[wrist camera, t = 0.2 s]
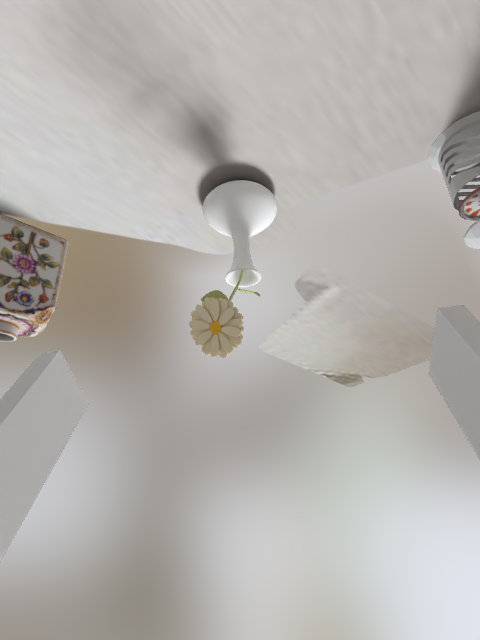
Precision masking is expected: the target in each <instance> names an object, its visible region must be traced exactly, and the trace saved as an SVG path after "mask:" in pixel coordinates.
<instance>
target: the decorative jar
mask: <svg viewBox="0 0 480 640" xmlns="http://www.w3.org/2000/svg"><path fill="white" fill-rule="evenodd" d="M67 248H68V241H67V240H65V239H63V238H60V237H57V236H55V235H53V234H50V233H48V232H45V231H43V230H40V229H38V228H36V227H33V226H31V225H28V224H25V223H23V222H20V221H18V220H15V219H13V218H10V217H8V216H5V215H3V214H0V341H4V342H9V341H15V340H16V339H17V337H31V336H36V335H37V334H39V333H40V332H42V331H43V330H44V328H45V327H46V325H47V324H48V321H49V319H50V318H51V316H52V314H53V312H54V310H55V309H56V303H57V297H58V293H59V289H60V284H61V280H62V274H63V270H64V265H65V259H66V254H67Z"/></svg>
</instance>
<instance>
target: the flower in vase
mask: <svg viewBox="0 0 480 640" xmlns="http://www.w3.org/2000/svg"><path fill="white" fill-rule="evenodd" d="M276 212H277V200H276V198H275V196H274V195H273V194H272V193H271V191H269V190H268V189H267V188H266V187H264V186H263V185H261V184H258V183H256V182H253V181H246V180H236V181H230V182H226V183H224V184H221V185H219V186H218V187H216V188H215V189H213V190H212V191H211V192H210V193H209V194H208V195H207V197H206V198H205V200H204V203H203V214H204V217H205V219H206V221H207V222H208V224H209V225H210V226H211V227H212V228H214V229H215V230H216V231H218V232H220V233H221V234H224V235H226V236H229V237H232V238H233V242H234V260H233V264H232V267H231V269H230V271H229V272H228V273H227V275H226V276H225V280H226V282H227V283H228V284H230V285H232V286H235V289H234V291H233V293H232V294H231V296H230V298H229V300H228V298H227V297H226V296H225V295H224V294H223V293H222V292H220V291H218V290H215V291H212V292H209V293H208V294H206V295H205V296H204V297H203V298H202V299H201V300H202V302H203V303H202V306H201V305H197V306H196V311H193V312H192V313H191V316H192V321H190V323H189V325H190V327H191V328H192V330H191V335H192V337H193V339H194V340H195V343H196V345H198V346H199V347H202V352H203V353H205V354H206V355H210V354H211V356H212V357H216V356H217V355H219V356H220V357H222V358H225V357H226V356H227V354H228V355H229V354H230V353H231V352H232V351H233V347H234V348H237V347H238V346H239V345H240V344H241V340H242V338H243V336H242V334H241V332H242V331H243V326H242V324H243V322H242V319H243V316H242V314H240V313H239V314H238V309H237V308H236V307H233V303H232V301H231V299H232V298H233V296H234V294H235V292H236V290H237V288H238V287H248V286H252V285H255V284H256V283H258V282H259V281H260V280H261V275H260V273H259V272H258V271H257V270H256V269H255V268H254V266H253V264H252V260H251V256H250V249H249V240H250V237H251V236H253V235H255V234H257V233H259V232H261V231H262V230H264V229H265V228H266V227H267V226H269V225H270V224H271V222H272V221H273V219H274V218H275V215H276ZM238 290H239V291H242V292H245V293H254V294H257V295H258V296H260V294H259V293H257V292H251V291H247V290H241V289H238Z"/></svg>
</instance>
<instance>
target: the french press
mask: <svg viewBox="0 0 480 640" xmlns="http://www.w3.org/2000/svg"><path fill="white" fill-rule="evenodd" d="M428 160H429V164H430V166H431V167H432V168H433V169H435V170H436V171H438V172H442V174H443V177H444V180H445V182H446V185H447V188H448V191H449V194H450V197H451V199H452V202H453V205H454V207H455V209H457V210H458V211H459V214H460V216H461V217H462V218H464V219H466V220H478V221H477V222H475V223H474V224H473V225H471V226H470V227H469V229H468V231H467V232H466V234H465V236H464V238H465V244H466V245H467V246H469V247H471V248H478V249H480V185H465V184H466V183H468V182H478V181H480V178H476V177H477V176H478V175H480V111H478V112H474V113H472V114H470V115H468V116H466V117H464V118H462V119H460V120H458V121H456V122H455V123H453V124H452V125H451V126H450V127H448V128H447V129H446V130H444V131H443V132H442V133H441V134H440V135H439V137H438V138H437V139H436V141H435V142H434V143H433V144H432V146H431V149H430V152H429V155H428ZM450 175H456V176H454V177H453V178H451V176H450ZM460 189H476V190H474V191H473V192H458V191H459V190H460ZM459 196H467V197H466V198H465V199H464V200H459V198H458V197H459Z"/></svg>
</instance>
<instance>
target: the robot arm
mask: <svg viewBox="0 0 480 640" xmlns="http://www.w3.org/2000/svg"><path fill="white" fill-rule="evenodd" d="M429 375H430V377H431V379H432V380H433V382H434V384H435V385H436V387H437V389H438V390H439V392H440V394H441V395H442V397H443V399H444V400H445V402H446V404H447V405H448V407H449V409H450V410H451V412H452V414H453V415H454V417H455V419H456V421H457V422H458V424H459V426H460V427H461V429H462V430H463V432H464V434H465V436H466V437H467V439H468V441H469V442H470V444H471V446H472V447H473V449H474V451H475V452H476V454H477V456H478V457H479V459H480V322H479V321H478V320H477V319H476V318H475V316H473V314H472V313H471V312H470V311H469V310H468V309H467V308H466V307H465V306H464V305H460V306H451V307H442V308H438V310H437V317H436V324H435V331H434V338H433V346H432V353H431V360H430V367H429ZM88 405H89V403H88V401H87V400H86V398H85V396H84V394H83V392H82V390H81V388H80V387H79V385H78V383H77V381H76V379H75V377H74V376H73V374H72V372H71V370H70V368H69V366H68V365H67V363H66V361H65V359H64V357H63V355H62V353H61V352H60V351H51V352H41V353H40V354H39V355H38V356H37V358H36V359H35V360H34V361H33V362H32V364H31V365H30V366H29V367H28V368H27V369H26V370H25V372H24V373H23V374H22V375H21V376H20V377H19V379H18V380H17V381H16V382H15V383H14V385H13V386H12V387H11V388H10V389H9V390H8V391H7V392H6V394H5V395H4V396H3V397H2V398H1V400H0V562H1V560H2V558H3V556H4V555H5V553H6V551H7V549H8V547H9V546H10V544H11V542H12V540H13V539H14V537H15V535H16V533H17V531H18V530H19V528H20V526H21V524H22V522H23V521H24V519H25V517H26V515H27V514H28V512H29V510H30V508H31V506H32V504H33V503H34V501H35V499H36V498H37V496H38V494H39V492H40V490H41V489H42V487H43V485H44V483H45V481H46V480H47V477H48V476H49V474H50V473H51V471H52V469H53V467H54V465H55V464H56V462H57V460H58V458H59V457H60V455H61V453H62V451H63V449H64V448H65V446H66V444H67V442H68V441H69V439H70V437H71V435H72V433H73V432H74V430H75V428H76V426H77V424H78V423H79V421H80V419H81V417H82V415H83V414H84V412H85V410H86V408H87V407H88Z"/></svg>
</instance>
